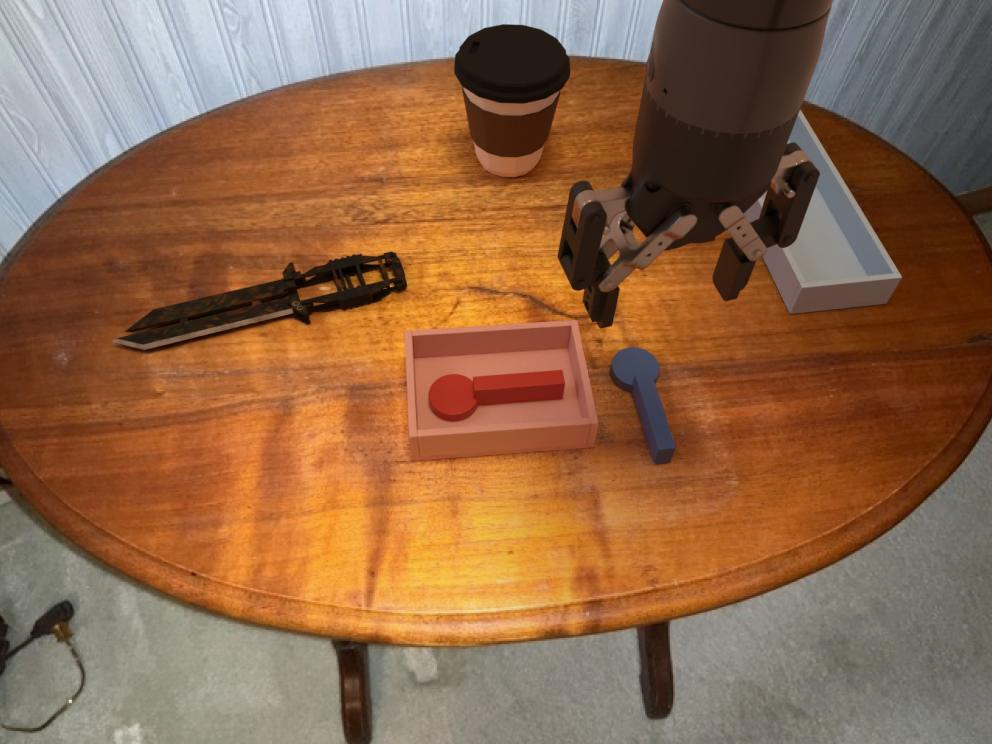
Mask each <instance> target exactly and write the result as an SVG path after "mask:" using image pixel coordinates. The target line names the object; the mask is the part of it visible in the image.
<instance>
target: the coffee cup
mask: <svg viewBox="0 0 992 744" xmlns="http://www.w3.org/2000/svg"><path fill="white" fill-rule="evenodd" d="M458 48H459V49H458V50H457V52H456V53H455V54H454V65H453V68H454V69H453V74H454V76H455V77H456V79H457V80H458V82H459V84H460V85H461V89H462V90H461V92H462V96H463V102H464V108H465V113H466V118H467V123H468V129H469V135H470V137H471V139H472V142H473V146H474V151H475V156H476V158H477V160H478V162H479V163H480V164H481V167H482V168H484V170H486V171H487V172H489V173H490V174H492V175H494V176H498V177H501V178H516V177H517V178H518V177H520V176H521V177H522V176H525V175H526V174H528V173H530V172H531V171H533V170H534V169H535V167H536V166H537V164H538V163H539V161H540V160H541V158H542V155H543V151H544V149H545V144H546V142H547V141H548V139H549V136H550V133H551V129H552V126H553V122H554V119H555V114H556V111H557V107H558V104H559V100H560V97H561V90H563V89H564V87H565V86H566V84H567V83H568V81H569V80H570V78H571V59H570V57H569V55H568V53H567V50H566V48H565V47H564V46H563V45H562V43H561V42H560V41H559V39H558V38H557V37H555V36H553V35H552V34H550V33H549V32H547V31H545V30H543V29H540V28H536V27H533V26H529V25H525V24H511V23H509V24H507V23H506V24H505V23H502V24H497V25H491V26H487V27H482V28H481V29H480V30H478V31H476V32H474V33H472V34H469V35H468V36H467V37H466V39H465V40H464V41H463V42H462V43H461V44H460V45H459V47H458Z"/></svg>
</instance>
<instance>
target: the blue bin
mask: <svg viewBox="0 0 992 744" xmlns="http://www.w3.org/2000/svg"><path fill="white" fill-rule="evenodd" d="M792 142H795V143H797V144H798V145H799V147H800V148H801V149H802V150H803V151H804V152H805V154H806V155H807V156H808V157H809V158H810V160H811V161H812V162H813V164H814V165H815V167H816V168H817V169H818V170H819V172H820V176H819V179H818V181H817V184H816V187H815V190H814V192H813V195H812V198H811V201H810V203H809V206H808V209H807V212H806V214H805V217H804V220H803V223H802V225H801V228H800V231H799V234H798V236H797V239H796V241H795V242H794V243H793V244H792V245H790V246H788V247H786V248H780V247H779V246H778V245H777V244H776V245H774V246H771V247H769V248H767V252H766V254H765V255H764V256H763V257H762V259H763V261H764V263H765V265H766V268H767V270H768V271H769V274H770V275H771V278H772V280H773V282H774V284H775V286H776V288H777V290H778V293H779V294H780V297H781V299H782V302H783V303H784V305H785V307H786V309H787V311H788V313H789V314H790V315H795V314H803V313H814V312H822V311H832V310H841V309H850V308H859V307H869V306H877V305H878V306H879V305H887V303H888V302H889V300H890V298H891V297H892V295H893V294H894V292H895V290H896V288H897V287H898V285H899V284H900V282H901V280H902V278H903V276H902V274H901V273H900V271H899V269H898V268H897V266H896V264H895V263H894V261H893V259H892V258H891V256H890V254H889V253H888V251H887V250H886V248H885V246H884V245H883V243H882V242H881V240H880V239H879V237H878V235H877V233H876V232H875V230H874V228H873V227H872V224H871V223H870V222H869V220H868V218H867V217H866V215H865V213H864V212H863V210H862V209H861V206H860V205H859V204H858V202H857V200H856V198H855V197H854V195H853V193H852V192H851V190H850V189H849V187H848V185H847V184H846V182H845V180H844V179H843V177H842V176H841V174H840V172H839V171H838V169H837V168H836V166H835V164H834V163H833V161H832V159H831V158H830V156H829V154H828V153H827V151H826V149H825V147H824V146H823V144H822V143H821V141H820V140H819V138H818V136H817V134H816V132H815V131H814V130H813V127H812V126H811V125H810V123H809V121H808V120H807V118H806V116H805V115H804V113H803V111H802V110H801V109H800V111H799V113H798V116H797V119H796V121H795V124H794V127H793V129H792V132H791V135H790V138H789V140H788V143H792ZM788 143H787V144H788ZM766 193H767V191H766V192H765V193H764V194H763V195H762V196H761V197H760V198H759V199H758V200H757V201H756V202H755V203H754V204H753V205H752V206H751V207H750V208H749V209H748V210H747V211H746V212H745V213H744V216H745V217H746V218H747V220H748V221H749V223H750V222H753V221H755V220H757V219H759V216H760V213H761V210H762V206H763V203H764V200H765V196H766Z"/></svg>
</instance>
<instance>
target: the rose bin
mask: <svg viewBox="0 0 992 744" xmlns="http://www.w3.org/2000/svg"><path fill="white" fill-rule="evenodd" d="M404 350H405V351H404V352H405V354H404V355H405V372H406V373H405V374H406V375H405V376H406V377H405V378H406V397H407V418H408V419H407V420H408V421H407V422H408V440H409V449H410V454H411V455H410V456H411V462H417V461H432V460H443V459H457V458H459V459H460V458H470V457H484V456H494V455H495V456H497V455H511V454H522V453H523V454H524V453H537V452H538V453H539V452H549V451H563V450H575V449H576V450H577V449H589V448H594V446H595V441H596V437H597V434H598V433H597V432H598V428H599V422H600V421H599V418H598V413H597V408H596V404H595V399H594V393H593V388H592V384H591V379H590V374H589V369H588V365H587V360H586V356H585V351H584V345H583V342H582V336H581V331H580V325H579V322H578V319H571V320H570V319H569V320H554V321H553V320H552V321H539V322H538V321H537V322H521V323H520V322H519V323H506V324H493V325H492V324H490V325H474V326H473V325H471V326H458V327H442V328H441V327H440V328H428V329H425V328H424V329H412V330H410V329H409V330H404ZM553 370H563V375H564V380H565V388H564V394H563V399H555V400H543V401H531V402H518V403H506V404H494V405H481V406H478V407H477V409H476V410H475V412H474V413H473V414H472V415H471V416H469V417H468V418H466V419H464V420H460V421H447V420H443V419H441V418H439V417H438V416H436V415H435V414H434V413H433V411H432V410H431V408H430V405H429V390H430V387H431V385H432V384H433V383H434V382H435V381H436V380H437V379H438V378H440V377H442V376H445V375H449V374H459V375H463V376H466V377H468V378H469V379H471V380H472V381H473V377H476V376H489V375H501V374H514V373H527V372H540V371H553Z"/></svg>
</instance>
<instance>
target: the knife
mask: <svg viewBox="0 0 992 744" xmlns="http://www.w3.org/2000/svg"><path fill="white" fill-rule="evenodd" d="M383 260H384V261H383ZM373 262H377V263H378V264H377V263H373ZM388 267H391V269H392V273H393V275H394V277H392V278H390V277H389V275H388V272H387V269H386V268H388ZM375 270H379V273H380V276H381V278H382V280H380V281H375V282H372V283H367V284H366V281H365V278H364V275H363V273H367V272H372V271H375ZM281 274H282V278H280V279H276V280H272V281H268V282H263V283H260V284H255V285H251V286H247V287H242V288H238V289H233V290H230V291H225V292H222V293H217V294H213V295H212V294H211V295H209V296H205V297H200V298H196V299H192V300H187V301H183V302H179V303H175V304H171V305H165V306H161V307H157V308H153V309H152V310H151V311H149V312H148V313H146V315H144V316H143V317H142V318H140V319H139V320H138V321H136V322H135V323H134V324H132V325H131V326H130V327H128V328H127V329H126V330H124V332H125V333H131V334H129V335H124V336H120V337H116V338H114V339H113V340H112V341H111V343H114V344H117V345H118V344H119V345H122V346H127V347H131V348H135V349H140V350H143V351H145V350H150V349H153V348H157V347H161V346H165V345H170V344H174V343H178V342H182V341H185V340H190V339H194V338H198V337H202V336H207V335H211V334H215V333H217V332H218V333H219V332H222V331H227V330H230V329H236V328H239V327H242V326H247V325H251V324H255V323H258V322H263V321H267V320H272V319H276V318H279V317H283V316H288V315H291V314H293V318H294V319H296V320H297V321H300V322H301V323H304V324H306V325H310V324H312V323H311V319H310V314H311V313H313V312H330V311H335V310H339V309H341V310H343V311H347V310H348V309H350V310H352V309H354V308H359V307H360V306H361V307H362V306H363V307H364V306H366V305H371V304H372V303H375V302H381V300H382V299H383V298H385V297H387V296H389V295H390V294H391V293H392V292H397V293H398V292H403V291H405V290H406V289H407V288H408V281H407V278H406V273H405V269H404V266H403V264H402V260H401V258H400V257H398V255H397V253H396V252H394V251H387V252H383V254H380V255H363V254H362V253H359V254H355V253H354V254H352V255H346V257H344V256H341V257H340V258H338V257H336V258H334V259H328V262H327V263H325V264H321V265H316V266H314V267H312V268H310V269H308V270H307V271H305V272H304V273H301V270H297V271H296V268H295V264H294V262H293V261H292V262H291V261H290V262H289V263H288V264H287V265H286V267H285V268H284V270H283V271H282V272H281ZM355 275H356V276H357V278H358V281H359V285H357V286H356V287H355V286H354V283H353V282H352V280H351V277H355ZM310 277H311V278H310ZM306 278H309V279H306ZM345 279H346V280H345ZM339 280H340V281H339ZM329 281H334V284H335V286H336V289H337V291H335V292H331V293H327V294H322V295H319V296H314V297H310V298H306V299H301V297H300V295H299V292H298V289H300V288H304V287H308V286H313V285H317V284H321V283H325V282H329ZM340 282H341V284H340ZM346 282H347V284H348V286H349V288H348V287H347V284H346ZM392 284H393V285H392ZM341 285H342V286H341ZM391 285H392V286H391ZM342 288H343V289H342ZM284 296H285V297H284ZM281 297H282V298H281ZM272 299H273V300H272ZM267 300H269V301H267ZM264 301H265V302H264ZM250 304H251V305H250ZM314 304H316V305H314ZM243 306H244V307H243ZM234 308H236V309H234ZM230 309H231V310H230ZM226 310H228V311H226ZM222 311H224V312H222ZM217 312H220V313H217ZM213 313H215V314H213ZM210 314H211V315H210ZM206 315H207V316H206ZM202 316H203V317H202ZM197 317H199V318H197ZM193 318H195V319H193ZM189 319H191V320H189ZM176 322H177V323H176ZM172 323H174V324H172ZM164 325H165V326H164ZM160 326H162V327H160ZM156 327H157V328H156ZM151 328H153V329H151ZM147 329H149V330H147ZM143 330H144V331H143ZM140 331H141V332H140ZM134 332H136V333H134Z"/></svg>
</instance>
